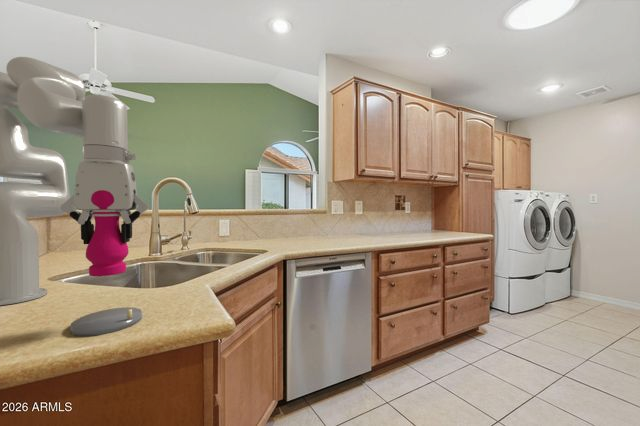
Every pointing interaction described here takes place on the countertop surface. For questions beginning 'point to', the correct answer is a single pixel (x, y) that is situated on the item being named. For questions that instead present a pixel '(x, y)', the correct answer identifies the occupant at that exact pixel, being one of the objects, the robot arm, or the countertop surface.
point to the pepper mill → (106, 238)
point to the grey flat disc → (106, 321)
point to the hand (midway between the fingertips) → (107, 241)
